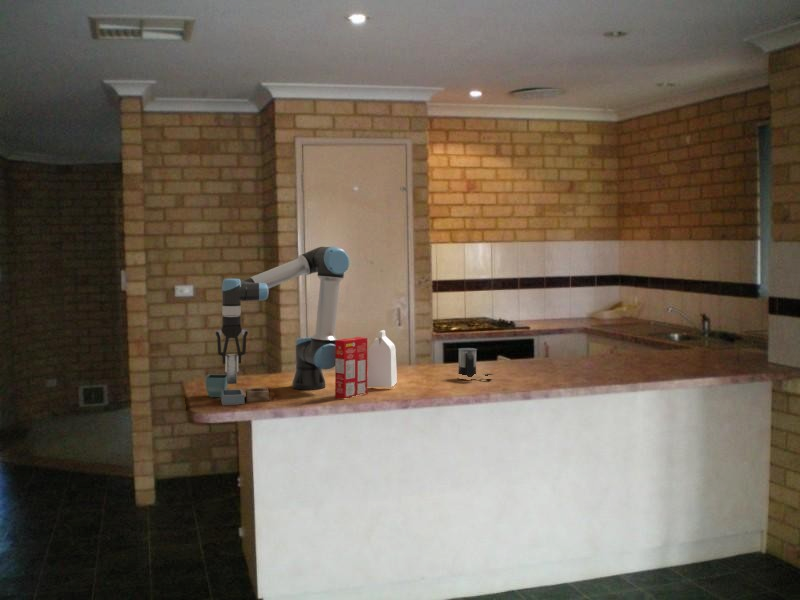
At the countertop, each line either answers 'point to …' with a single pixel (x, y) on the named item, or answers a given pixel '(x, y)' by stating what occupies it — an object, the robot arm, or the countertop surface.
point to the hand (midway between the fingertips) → (231, 371)
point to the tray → (232, 397)
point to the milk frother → (468, 362)
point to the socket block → (257, 394)
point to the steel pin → (231, 369)
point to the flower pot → (215, 384)
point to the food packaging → (350, 367)
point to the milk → (382, 362)
